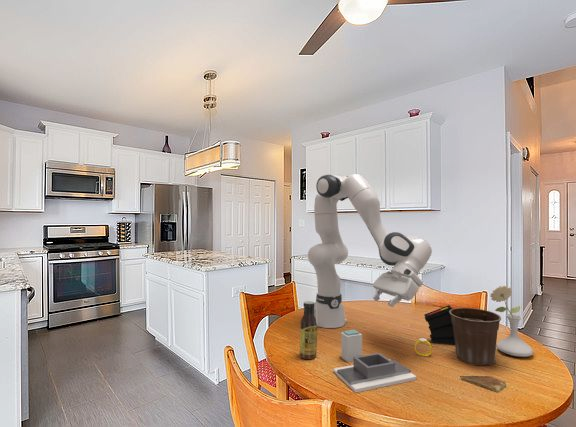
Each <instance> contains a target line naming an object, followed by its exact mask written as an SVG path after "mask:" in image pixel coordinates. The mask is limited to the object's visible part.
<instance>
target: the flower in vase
mask: <svg viewBox="0 0 576 427" xmlns="http://www.w3.org/2000/svg"><path fill="white" fill-rule="evenodd" d="M511 297H512V288H511V287H508V286H507V285H499V286H498V287H496V288H495V289H493V290H492V293H490V298H491V299H490V300H491V301H493V302H497V303H501V302H503V301H504V304H505V306H499V307H497V308H495V310H494V311H495V312H499V313H504V312H505V311H506V310H507V311H508V312H509V313H507V314H505V317H506V318H507V320H508V322H509V327H510V329H509V331H510V333H509V335H508V336H507V337H505V338H503V339H501V340H499V341H498V342H496V349H498V350H499V351H500V352H502V353H504V354H507V355H510V356H514V357H522V358H526V357H530V356H532V355H533V354H534V350H533V348H532V347H531V346H530V345H529V344H528V343H526V342H525V341H524V340H523V339H522V338H521V337H520V336H519V331H518V330H519V323H520V321H521V320H522V318H523V317H522V316H521V315H519V314H515V313H518V312H519V311H520V309H521V306H520V305H518V306H516V307H512V308H511V309H509V307H508V305H507V301H508V300H509V298H511ZM506 300H507V301H506Z"/></svg>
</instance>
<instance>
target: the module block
mask: <svg viewBox="0 0 576 427" xmlns="http://www.w3.org/2000/svg"><path fill="white" fill-rule="evenodd" d="M340 339H341V340H340V349H341V350H340V351H341V352H340V356H341V357H340V358H342V359H343V360H344V361H345V362H346V363H350V362H352V363H353V357H357V356H363V334H362V333H360V332H359V331H358V330H356V329H350V330H343V331H342V332H341V333H340Z"/></svg>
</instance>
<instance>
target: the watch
mask: <svg viewBox="0 0 576 427" xmlns="http://www.w3.org/2000/svg"><path fill="white" fill-rule="evenodd" d="M419 343H424V344H425V343H427V344H428V346H430V350H429V352H428V353H420V352H419V351H418V350H417V348H416V347H417V345H418V344H419ZM414 351H415V353H416V354H417V355H418V356H419V357H420V356H422V357H430V356H431V355H432V353H433V347H432V344H431V343H430V342H429V341H428V339H427V338H424V337H421V338H418V340H416V341H415V342H414Z"/></svg>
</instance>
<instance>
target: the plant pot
mask: <svg viewBox="0 0 576 427" xmlns="http://www.w3.org/2000/svg"><path fill="white" fill-rule="evenodd" d="M449 313H450V315H451V321H452V324H453V331H454V339H455V345H454V347H455V355H456V358H458V359H460V361H462V362H464V363H467V364H471V365H474V366H481V367H483V366H484V365H485V366H486V365H487V366H493V365H494V364H495V363H496V353H497V352H496V351H497V350H496V349H497V346H496V345H497V339H498V331H499V330H500V329H499V328H500V321H501V320H502V316H501V315H500V314H498V313H496V312H493V311H490V310H486V309H481V308H474V307H473V308H472V307H455V308H452V309H451V310H450V311H449Z"/></svg>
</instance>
